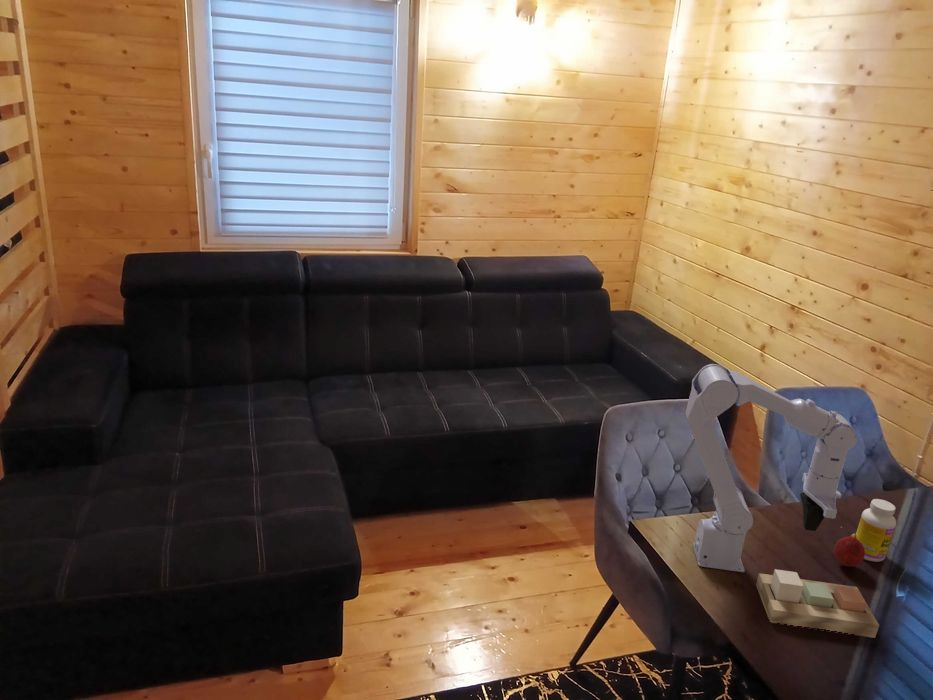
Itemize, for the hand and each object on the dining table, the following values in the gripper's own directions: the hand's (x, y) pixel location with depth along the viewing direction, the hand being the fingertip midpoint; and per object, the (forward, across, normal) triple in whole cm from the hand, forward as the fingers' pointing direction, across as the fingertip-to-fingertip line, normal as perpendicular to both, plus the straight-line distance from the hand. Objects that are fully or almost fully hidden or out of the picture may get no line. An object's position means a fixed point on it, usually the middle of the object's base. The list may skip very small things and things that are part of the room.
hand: (809, 528), depth 145 cm
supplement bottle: (+11, +10, -18) cm, 23 cm away
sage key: (+9, -13, +1) cm, 16 cm away
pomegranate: (+11, +4, -11) cm, 16 cm away
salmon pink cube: (+9, -13, -5) cm, 17 cm away
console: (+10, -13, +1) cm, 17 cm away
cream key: (+8, -13, +7) cm, 17 cm away
